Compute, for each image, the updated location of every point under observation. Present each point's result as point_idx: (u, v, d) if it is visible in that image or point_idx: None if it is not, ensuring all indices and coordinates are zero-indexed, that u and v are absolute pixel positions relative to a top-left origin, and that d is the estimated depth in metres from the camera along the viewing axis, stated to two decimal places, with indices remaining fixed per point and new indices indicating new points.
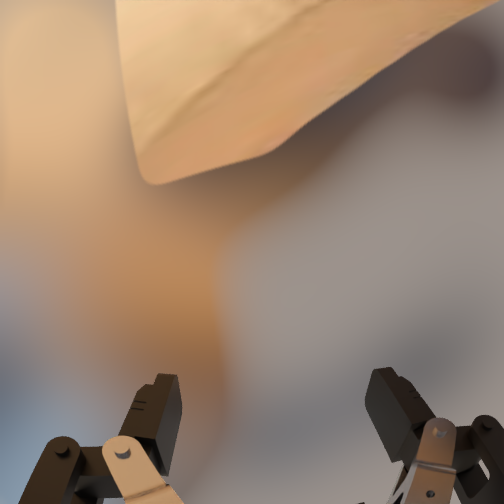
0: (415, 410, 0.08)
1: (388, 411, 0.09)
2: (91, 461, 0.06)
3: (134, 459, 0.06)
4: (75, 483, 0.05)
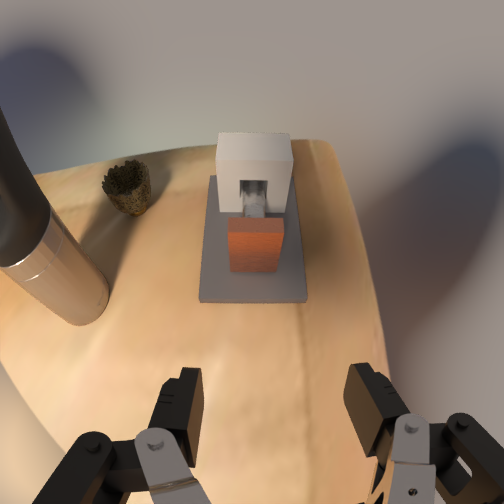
0: (388, 405, 0.08)
1: (363, 406, 0.09)
2: (122, 455, 0.06)
3: (168, 450, 0.06)
4: (102, 479, 0.05)
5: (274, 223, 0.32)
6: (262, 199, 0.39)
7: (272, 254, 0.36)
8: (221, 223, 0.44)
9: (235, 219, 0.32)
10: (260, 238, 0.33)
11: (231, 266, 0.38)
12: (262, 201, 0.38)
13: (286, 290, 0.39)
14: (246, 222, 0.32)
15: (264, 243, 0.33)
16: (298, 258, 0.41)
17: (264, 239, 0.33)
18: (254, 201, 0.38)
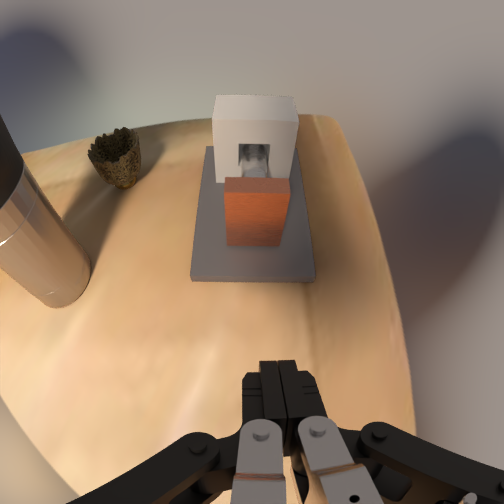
0: (299, 405, 0.09)
1: None
2: (226, 452, 0.07)
3: (278, 439, 0.07)
4: (193, 481, 0.06)
5: (278, 183, 0.27)
6: (264, 164, 0.34)
7: (275, 223, 0.30)
8: (217, 194, 0.39)
9: (233, 179, 0.27)
10: (262, 201, 0.28)
11: (228, 238, 0.33)
12: (264, 166, 0.33)
13: (291, 267, 0.34)
14: (246, 182, 0.27)
15: (267, 207, 0.28)
16: (304, 232, 0.36)
17: (266, 202, 0.28)
18: (255, 165, 0.33)
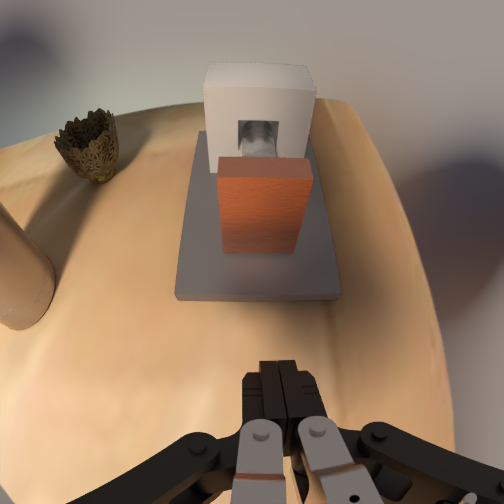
0: (299, 405, 0.09)
1: None
2: (226, 452, 0.07)
3: (278, 439, 0.07)
4: (193, 481, 0.06)
5: (295, 165, 0.19)
6: (271, 145, 0.25)
7: (290, 222, 0.22)
8: (212, 187, 0.30)
9: (230, 159, 0.19)
10: (272, 190, 0.19)
11: (225, 243, 0.24)
12: (271, 147, 0.25)
13: (309, 281, 0.25)
14: (249, 163, 0.19)
15: (279, 199, 0.20)
16: (324, 235, 0.27)
17: (279, 192, 0.19)
18: (260, 145, 0.24)
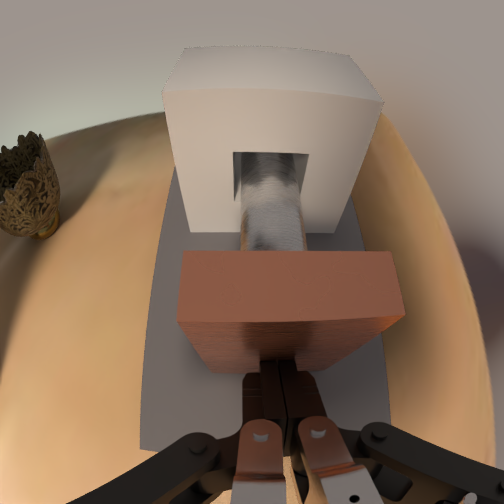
0: (299, 405, 0.09)
1: None
2: (226, 452, 0.07)
3: (278, 439, 0.07)
4: (193, 481, 0.06)
5: (366, 275, 0.08)
6: (294, 187, 0.14)
7: (332, 354, 0.11)
8: None
9: (211, 260, 0.08)
10: (310, 333, 0.08)
11: (213, 368, 0.13)
12: (295, 193, 0.14)
13: (347, 429, 0.13)
14: (257, 273, 0.08)
15: (321, 340, 0.09)
16: (372, 346, 0.16)
17: (323, 333, 0.08)
18: (275, 191, 0.13)
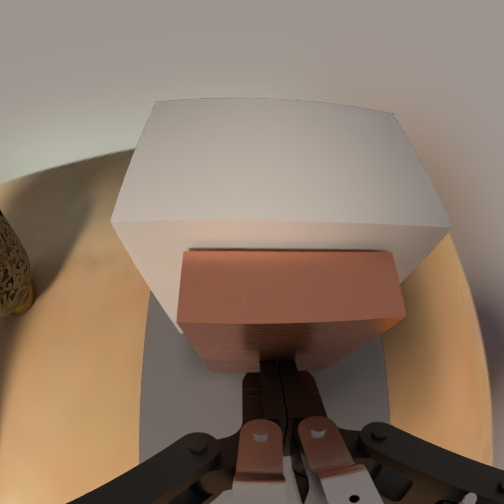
0: (299, 405, 0.09)
1: None
2: (226, 452, 0.07)
3: (278, 439, 0.07)
4: (193, 481, 0.06)
5: (368, 276, 0.08)
6: None
7: (331, 354, 0.11)
8: (184, 370, 0.15)
9: (211, 260, 0.08)
10: (311, 334, 0.08)
11: (212, 368, 0.13)
12: None
13: None
14: (258, 274, 0.08)
15: (321, 340, 0.09)
16: None
17: (324, 335, 0.08)
18: None
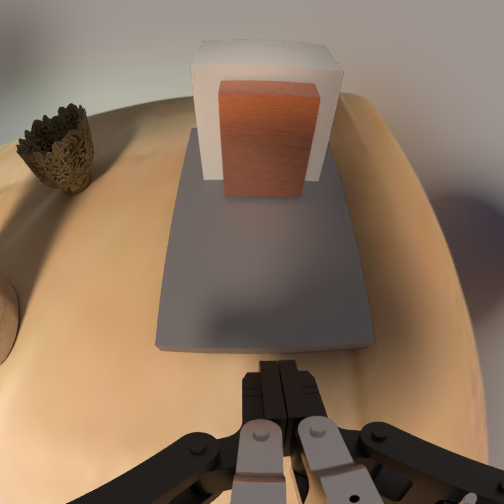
0: (299, 405, 0.09)
1: None
2: (226, 452, 0.07)
3: (278, 439, 0.07)
4: (193, 481, 0.06)
5: (301, 87, 0.16)
6: None
7: (297, 153, 0.19)
8: (205, 198, 0.24)
9: (232, 82, 0.16)
10: (277, 111, 0.16)
11: (226, 182, 0.22)
12: None
13: (334, 327, 0.18)
14: (252, 84, 0.16)
15: (285, 122, 0.17)
16: (351, 262, 0.21)
17: (284, 113, 0.17)
18: None
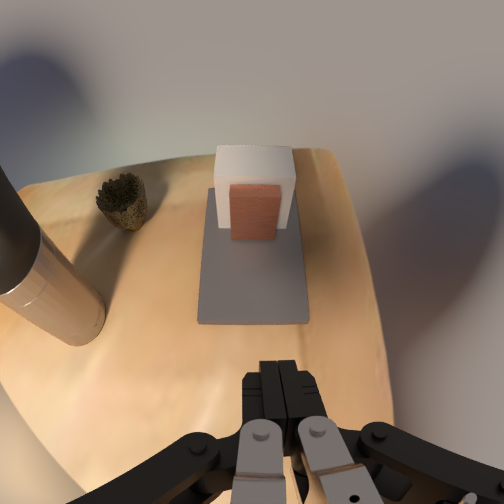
0: (299, 405, 0.09)
1: None
2: (226, 452, 0.07)
3: (278, 439, 0.07)
4: (192, 481, 0.06)
5: (272, 189, 0.35)
6: None
7: (270, 221, 0.38)
8: (220, 240, 0.42)
9: (236, 186, 0.35)
10: (259, 203, 0.35)
11: (232, 233, 0.40)
12: None
13: (287, 312, 0.37)
14: (246, 188, 0.35)
15: (263, 208, 0.36)
16: (300, 278, 0.39)
17: (262, 204, 0.35)
18: None
